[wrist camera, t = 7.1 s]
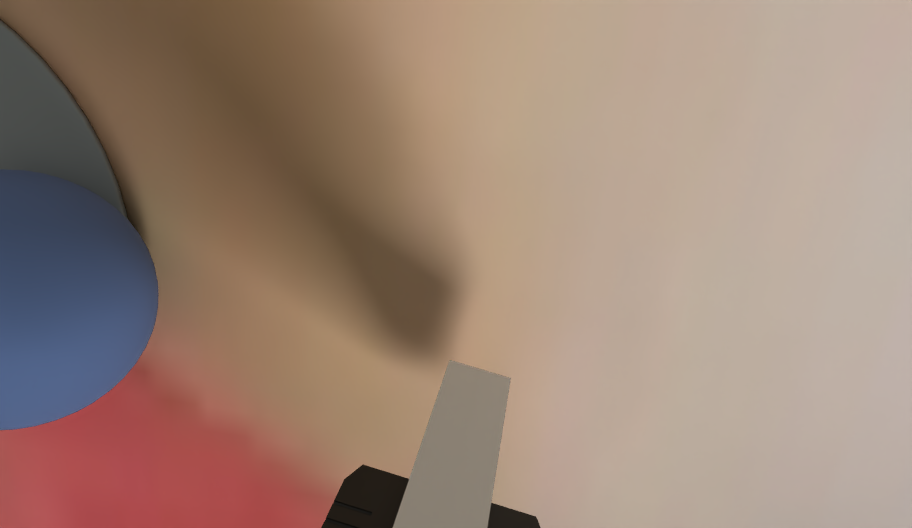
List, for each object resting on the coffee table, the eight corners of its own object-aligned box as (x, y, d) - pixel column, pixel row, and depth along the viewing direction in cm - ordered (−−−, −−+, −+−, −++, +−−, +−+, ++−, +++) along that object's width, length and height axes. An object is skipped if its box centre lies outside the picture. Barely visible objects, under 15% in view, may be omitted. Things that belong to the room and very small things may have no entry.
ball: (-86, 122, 15) (178, 152, 17) (-47, 329, 18) (180, 339, 19) (-296, 218, 10) (114, 249, 12) (-199, 492, 13) (127, 489, 14)
